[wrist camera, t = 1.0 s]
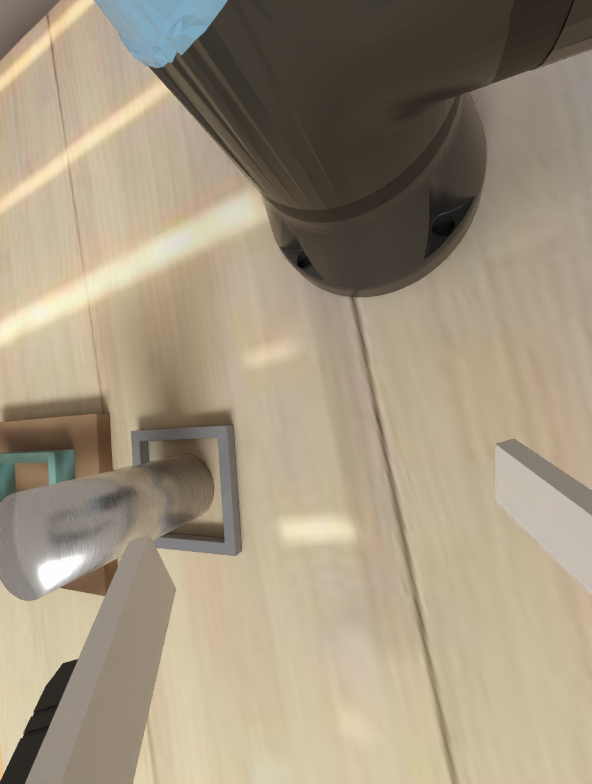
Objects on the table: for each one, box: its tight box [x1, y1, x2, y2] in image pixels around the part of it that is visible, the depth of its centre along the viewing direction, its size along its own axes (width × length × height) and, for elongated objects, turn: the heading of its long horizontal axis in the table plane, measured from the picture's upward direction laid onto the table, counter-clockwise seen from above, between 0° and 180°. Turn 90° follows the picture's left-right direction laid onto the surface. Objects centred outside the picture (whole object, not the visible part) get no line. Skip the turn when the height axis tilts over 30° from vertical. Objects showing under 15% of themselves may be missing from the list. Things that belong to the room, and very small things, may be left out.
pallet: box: [0, 413, 117, 596], centre depth 38 cm, size 18×18×4 cm
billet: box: [0, 454, 214, 601], centre depth 26 cm, size 6×6×14 cm
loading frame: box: [131, 425, 242, 556], centre depth 32 cm, size 11×11×1 cm
